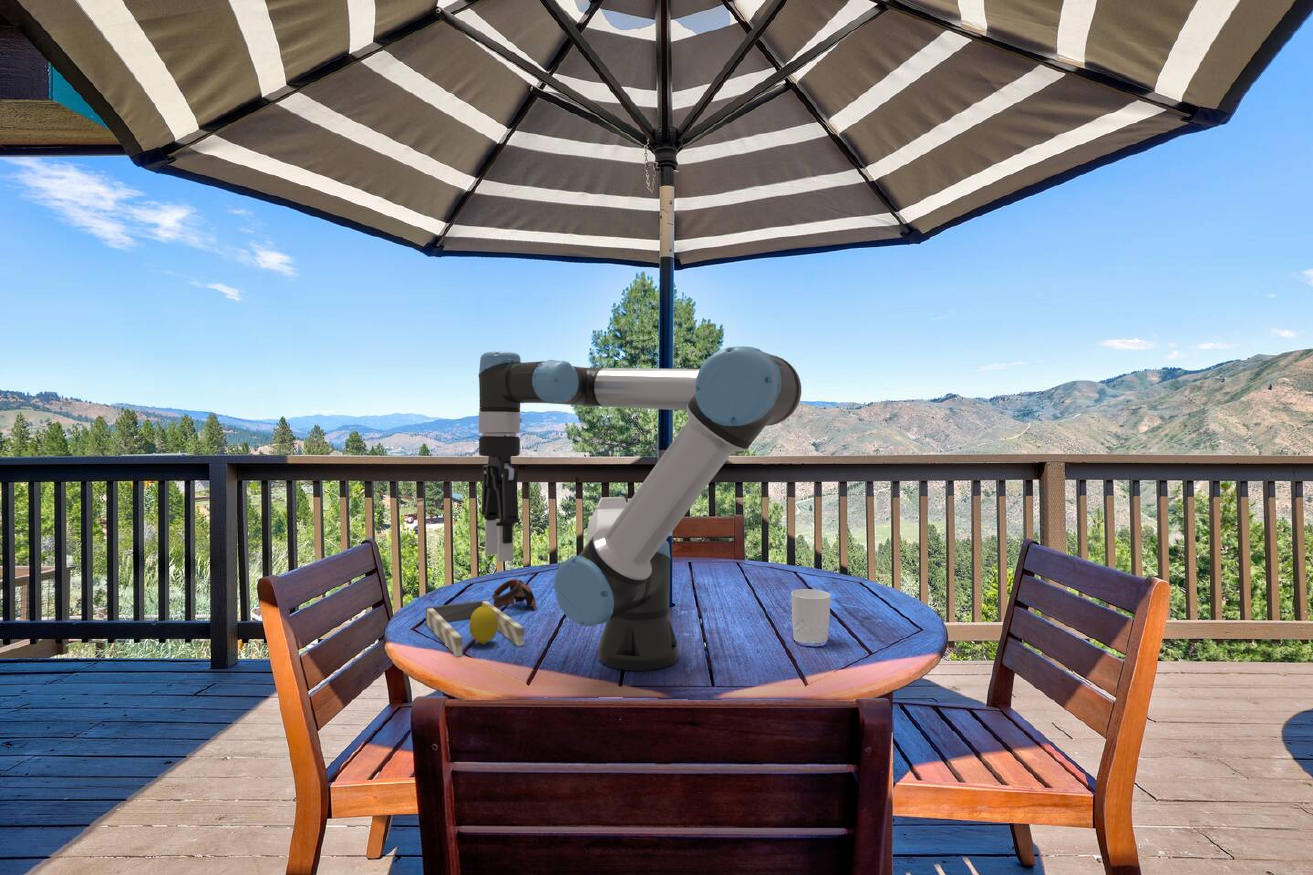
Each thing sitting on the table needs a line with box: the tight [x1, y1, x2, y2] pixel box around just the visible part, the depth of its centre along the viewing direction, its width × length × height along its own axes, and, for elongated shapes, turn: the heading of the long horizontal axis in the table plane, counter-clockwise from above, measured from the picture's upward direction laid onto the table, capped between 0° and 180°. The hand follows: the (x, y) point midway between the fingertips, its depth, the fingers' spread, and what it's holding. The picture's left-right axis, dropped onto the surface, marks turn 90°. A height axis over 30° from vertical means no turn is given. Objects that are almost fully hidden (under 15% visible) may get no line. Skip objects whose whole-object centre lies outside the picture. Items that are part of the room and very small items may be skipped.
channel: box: [425, 599, 525, 658], centre depth 138 cm, size 25×13×4 cm, turn 32°
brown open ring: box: [491, 578, 538, 612], centre depth 158 cm, size 12×10×8 cm
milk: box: [586, 496, 628, 545], centre depth 168 cm, size 12×12×26 cm
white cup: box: [790, 588, 831, 644], centre depth 135 cm, size 8×8×10 cm
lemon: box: [469, 605, 498, 646], centre depth 131 cm, size 6×6×8 cm
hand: (498, 557), depth 124 cm, fingers open, 7 cm apart
